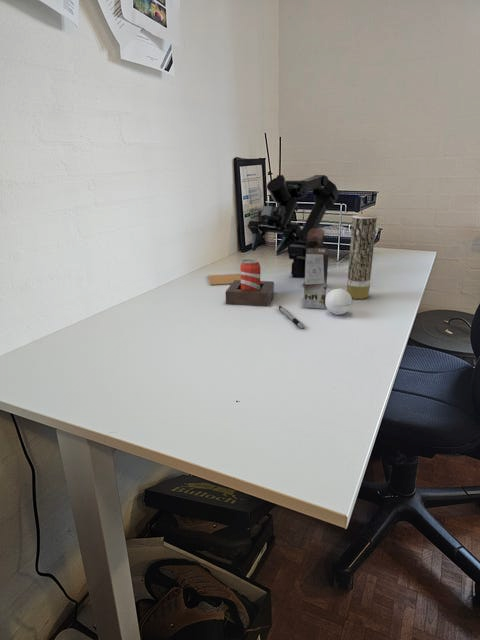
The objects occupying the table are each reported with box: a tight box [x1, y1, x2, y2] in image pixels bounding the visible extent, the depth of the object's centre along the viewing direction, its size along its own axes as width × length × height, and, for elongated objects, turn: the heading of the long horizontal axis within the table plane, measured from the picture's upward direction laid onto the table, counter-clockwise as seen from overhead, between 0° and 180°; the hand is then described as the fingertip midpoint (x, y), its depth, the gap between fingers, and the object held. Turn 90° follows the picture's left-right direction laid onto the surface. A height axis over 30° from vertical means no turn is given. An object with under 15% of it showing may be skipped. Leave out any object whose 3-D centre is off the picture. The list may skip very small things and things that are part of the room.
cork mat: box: [208, 273, 241, 286], centre depth 147 cm, size 12×12×1 cm
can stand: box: [225, 280, 275, 307], centre depth 126 cm, size 13×13×4 cm
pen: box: [278, 305, 304, 329], centre depth 109 cm, size 1×16×1 cm, turn 15°
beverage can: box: [240, 258, 261, 290], centre depth 125 cm, size 6×6×12 cm
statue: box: [302, 227, 325, 287], centre depth 134 cm, size 7×7×20 cm
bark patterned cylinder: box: [346, 213, 378, 300], centre depth 122 cm, size 7×7×25 cm
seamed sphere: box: [325, 287, 362, 316], centre depth 111 cm, size 10×7×7 cm
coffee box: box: [302, 247, 330, 310], centre depth 118 cm, size 9×6×16 cm
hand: (264, 251), depth 128 cm, fingers open, 9 cm apart
